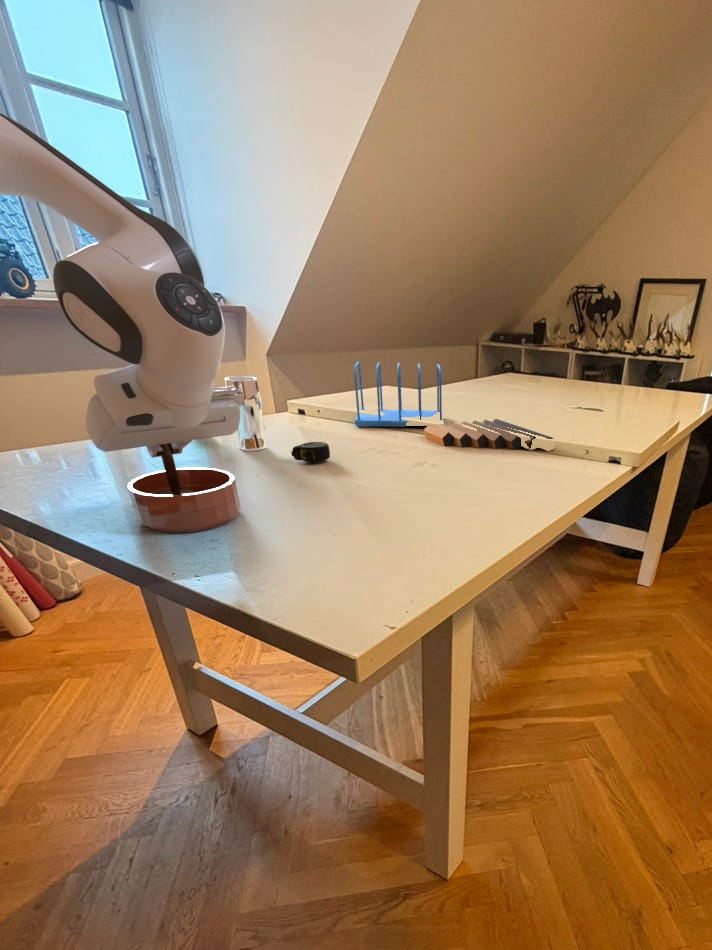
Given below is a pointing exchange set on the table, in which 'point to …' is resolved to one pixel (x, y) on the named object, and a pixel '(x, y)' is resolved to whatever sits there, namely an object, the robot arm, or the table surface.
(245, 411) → the beer glass
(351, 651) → the table surface
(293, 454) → the tape measure
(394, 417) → the file sorter
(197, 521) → the bowl
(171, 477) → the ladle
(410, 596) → the table surface
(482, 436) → the pan flute
